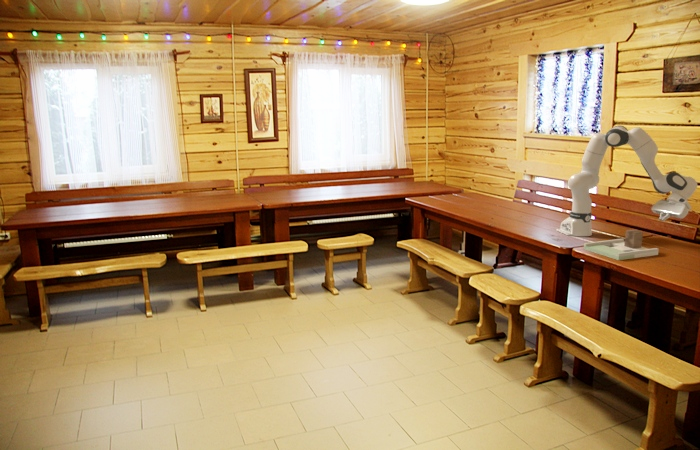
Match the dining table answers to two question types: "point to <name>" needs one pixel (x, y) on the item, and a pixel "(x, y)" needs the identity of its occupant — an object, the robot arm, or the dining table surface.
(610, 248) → the board
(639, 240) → the walnut block
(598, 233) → the dining table surface
